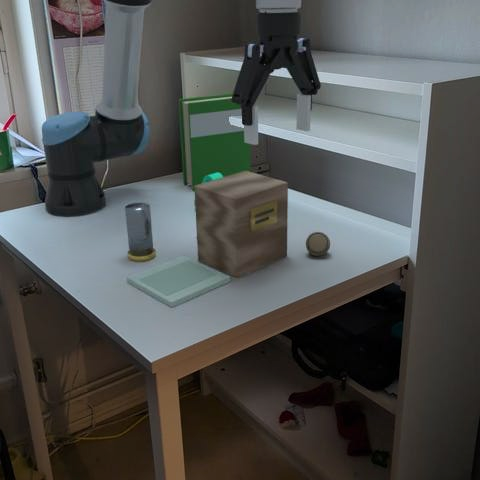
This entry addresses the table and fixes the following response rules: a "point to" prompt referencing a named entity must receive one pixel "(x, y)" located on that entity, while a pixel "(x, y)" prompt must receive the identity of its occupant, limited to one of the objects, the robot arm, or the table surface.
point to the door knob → (317, 243)
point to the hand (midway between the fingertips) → (278, 136)
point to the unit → (241, 222)
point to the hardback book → (211, 138)
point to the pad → (178, 280)
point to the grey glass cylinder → (139, 232)
